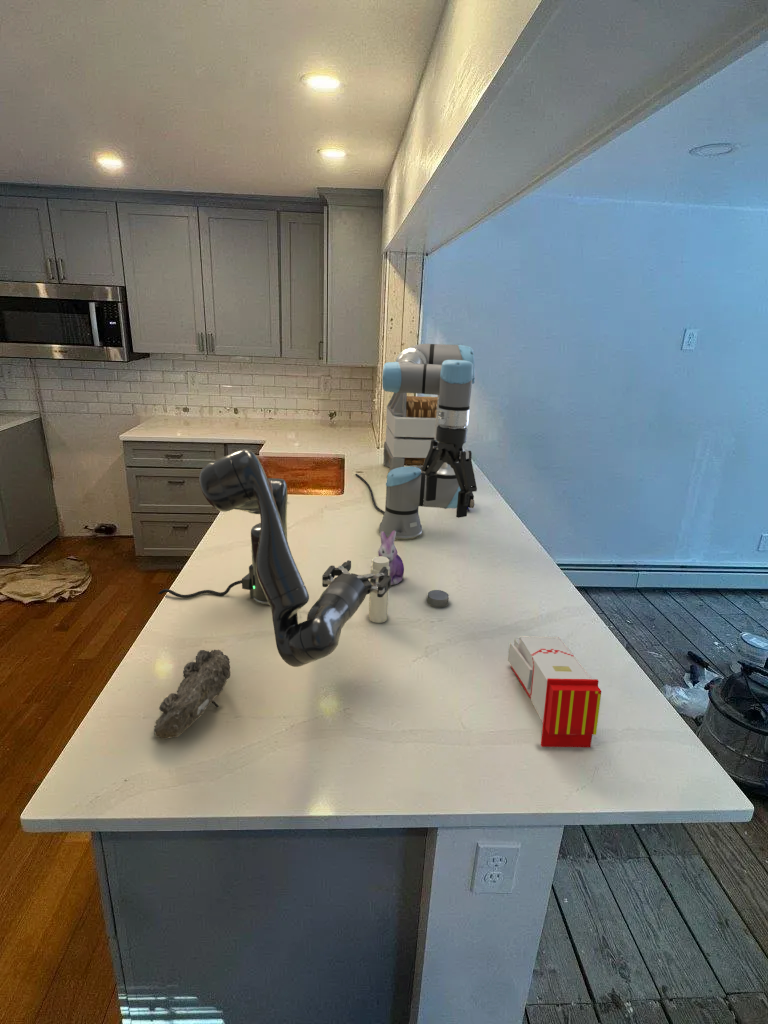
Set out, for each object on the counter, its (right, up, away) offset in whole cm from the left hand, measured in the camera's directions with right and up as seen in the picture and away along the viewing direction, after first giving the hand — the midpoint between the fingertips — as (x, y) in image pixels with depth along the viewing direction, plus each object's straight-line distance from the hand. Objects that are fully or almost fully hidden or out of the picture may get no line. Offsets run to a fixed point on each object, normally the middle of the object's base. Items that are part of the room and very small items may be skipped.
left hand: (367, 567), depth 129 cm
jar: (+2, -15, +16) cm, 22 cm away
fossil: (-32, -25, -18) cm, 45 cm away
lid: (+18, -10, +24) cm, 32 cm away
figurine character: (+36, +14, +100) cm, 107 cm away
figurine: (+5, -7, +37) cm, 38 cm away
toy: (+37, -26, -12) cm, 47 cm away
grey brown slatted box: (+21, +31, +146) cm, 151 cm away
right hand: (+20, +14, +16) cm, 29 cm away
